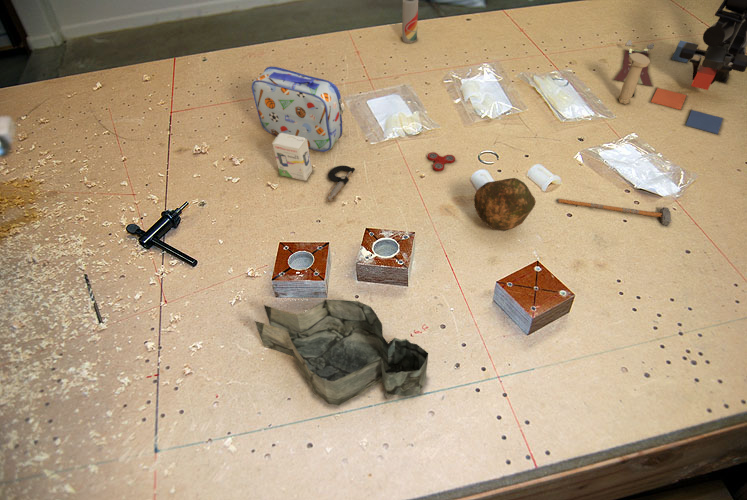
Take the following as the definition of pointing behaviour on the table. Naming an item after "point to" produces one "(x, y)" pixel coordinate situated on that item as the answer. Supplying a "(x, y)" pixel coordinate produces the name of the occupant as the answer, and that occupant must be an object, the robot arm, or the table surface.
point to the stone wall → (345, 350)
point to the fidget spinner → (440, 160)
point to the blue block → (678, 51)
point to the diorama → (626, 65)
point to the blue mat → (704, 122)
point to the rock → (504, 203)
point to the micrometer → (338, 180)
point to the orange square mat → (668, 98)
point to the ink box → (292, 156)
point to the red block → (703, 77)
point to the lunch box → (299, 106)
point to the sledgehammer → (627, 210)
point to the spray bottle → (409, 20)
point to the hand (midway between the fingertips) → (701, 81)
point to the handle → (633, 76)
